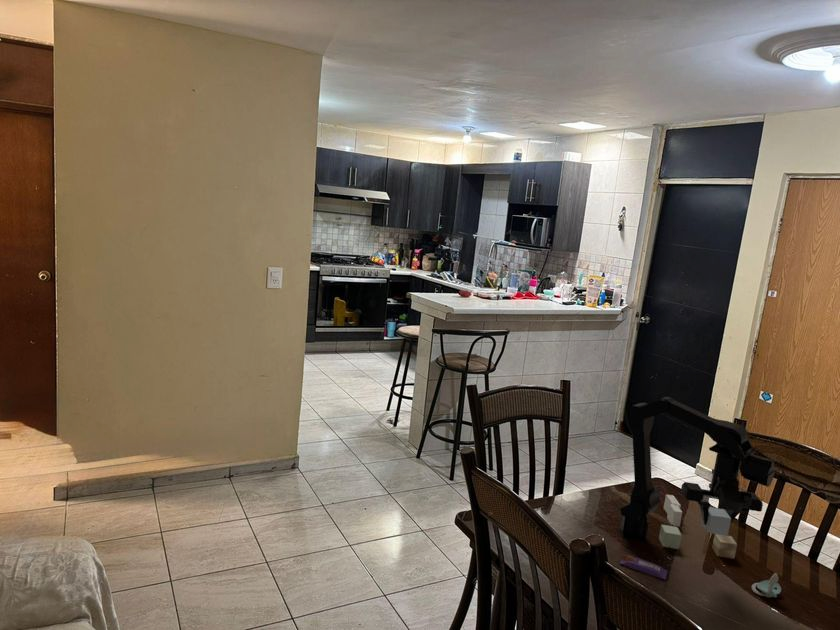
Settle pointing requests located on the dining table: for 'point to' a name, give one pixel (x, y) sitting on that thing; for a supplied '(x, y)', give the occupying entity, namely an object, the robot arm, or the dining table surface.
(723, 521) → the blue block
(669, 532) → the sage block
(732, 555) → the birch block
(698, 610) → the dining table surface
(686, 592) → the dining table surface
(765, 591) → the pacifier
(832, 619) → the dining table surface
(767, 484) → the robot arm
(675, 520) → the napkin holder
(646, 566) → the snack package
